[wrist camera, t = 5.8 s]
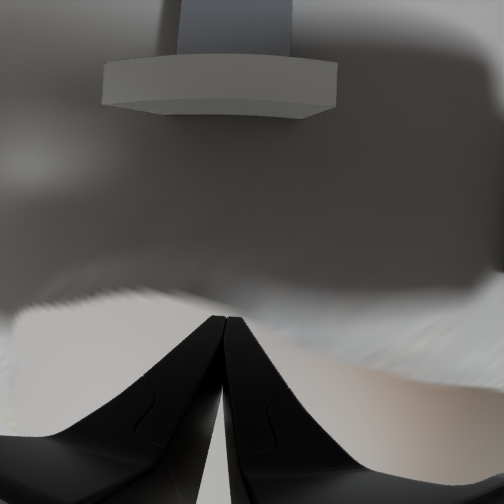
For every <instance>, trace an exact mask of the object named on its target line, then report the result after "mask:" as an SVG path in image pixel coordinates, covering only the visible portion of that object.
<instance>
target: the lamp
mask: <svg viewBox="0 0 504 504" xmlns="http://www.w3.org/2000/svg"><path fill="white" fill-rule="evenodd" d="M291 27H292V0H182V3H181V11H180V20H179V30H178V40H177V51H176V55H166V56H154V57H143V58H134V59H126V60H119V61H112V62H106V63H104V73H103V87H102V104H101V105H107V106H114V107H120V108H126V109H132V110H138V111H144V112H149V113H155V114H160V115H183V114H219V115H250V116H268V117H282V118H295V119H304V118H307V117H309V116H312V115H315V114H318V113H321V112H324V111H327V110H329V109H332V108H335V107H336V95H337V71H338V63H336V62H329V61H322V60H315V59H306V58H297V57H290V51H291Z"/></svg>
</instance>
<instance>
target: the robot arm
mask: <svg viewBox="0 0 504 504" xmlns="http://www.w3.org/2000/svg"><path fill="white" fill-rule="evenodd" d="M222 387H223V408H224V409H223V410H224V424H225V436H226V450H227V461H228V472H229V473H228V474H229V485H230V495H231V504H504V473H501V474H497V475H495V476H492V477H490V478H488V479H485V480H483V481H480V482H477V483H474V484H468V485H455V486H451V485H442V484H435V483H429V482H423V481H417V480H413V479H407V478H402V477H398V476H393V475H389V474H385V473H381V472H377V471H373V470H371V469H369V468H366V467H365V466H363V465H361V464H360V463H358V462H357V461H356V460H354V459H353V458H352V457H351V456H350V455H349V454H348V453H347V452H346V451H345V450H344V449H343V448H342V447H341V446H340V445H339V444H338V443H337V442H336V441H335V440H334V439H333V438H332V437H331V436H330V435H329V434H328V433H327V432H326V431H325V430H324V429H323V428H322V427H321V426H320V425H319V424H318V423H317V422H316V421H315V420H314V418H313V417H312V416H311V415H310V414H309V413H308V412H307V411H306V409H305V408H304V407H303V406H302V404H301V403H300V402H299V400H298V399H297V398H296V396H295V395H294V393H293V392H292V391H291V389H290V388H288V385H287V384H286V382H285V381H284V379H283V378H282V376H281V375H280V373H279V372H278V371H277V369H276V368H275V366H274V365H273V363H272V362H271V361H270V359H269V357H268V356H267V354H266V353H265V351H264V350H263V348H262V347H261V346H260V344H259V342H258V341H257V339H256V338H255V336H254V335H253V333H252V332H251V330H250V329H249V327H248V326H247V325H246V323H245V321H244V320H243V318H241V317H230V316H229V317H227V319H226V317H225V316H215V315H213V316H211V317H209V318H208V319H207V320H206V321H205V322H204V323H203V324H201V325H200V326H199V327H198V328H197V329H196V330H195V331H193V332H192V333H191V334H190V335H189V336H188V337H187V338H185V340H183V341H182V342H181V343H180V344H179V345H177V346H176V347H175V348H174V349H173V350H172V351H171V352H169V353H168V354H167V355H166V356H165V357H164V358H162V359H161V360H160V361H159V362H158V363H157V364H155V365H154V366H153V367H152V368H151V369H150V370H148V371H147V372H146V373H145V374H144V375H143V376H142V377H140V378H139V379H138V380H137V381H135V382H134V383H133V384H132V385H131V386H129V387H128V388H127V389H126V390H124V391H123V392H122V393H121V394H119V395H118V396H116V397H115V398H114V399H112V400H111V401H109V402H108V403H106V404H105V405H103V406H102V407H101V408H99V409H97V410H96V411H94V412H92V413H91V414H89V415H88V416H86V417H85V418H83V419H81V420H80V421H78V422H77V423H75V424H74V425H72V426H71V427H69V428H67V429H65V430H63V431H61V432H59V433H57V434H54V435H50V436H45V437H21V436H2V435H0V504H196V501H197V497H198V493H199V489H200V484H201V480H202V475H203V471H204V467H205V463H206V459H207V455H208V450H209V446H210V442H211V437H212V433H213V429H214V425H215V420H216V416H217V411H218V407H219V403H220V398H221V394H222Z"/></svg>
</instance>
